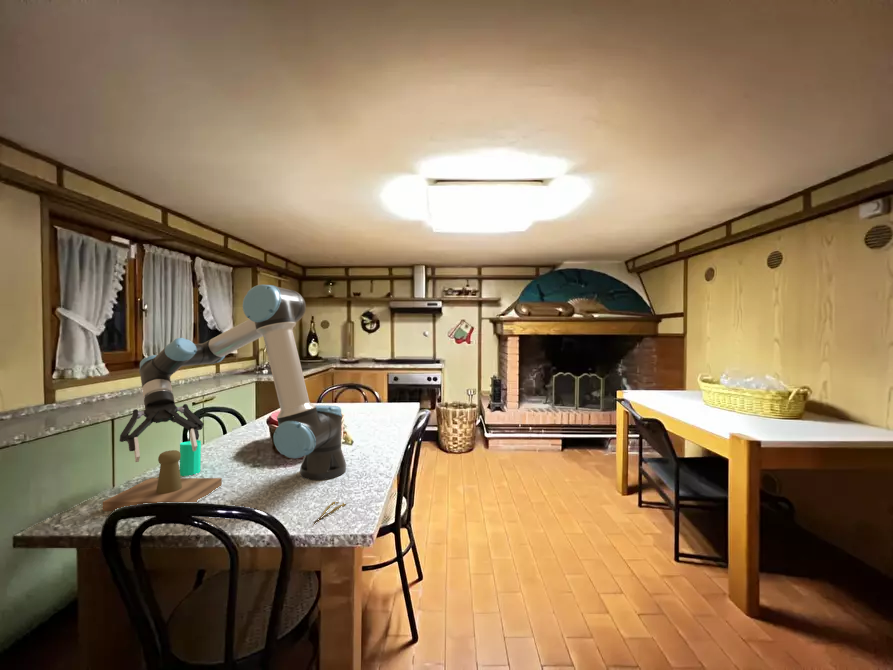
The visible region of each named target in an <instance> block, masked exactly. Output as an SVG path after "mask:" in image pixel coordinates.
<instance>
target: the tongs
mask: <svg viewBox="0 0 893 670" xmlns="http://www.w3.org/2000/svg"><path fill="white" fill-rule="evenodd" d="M335 502H336V503H337V504H339V503H338V502H339V501H332V502H331V503H330V504H329V505H327V506H326V508H324V510H323V511H322V514H321V515H320V516H319V517H318V518H317V519H315V520H314V521H313V523H314V524H315V523H316V522H318V521H319V520H321V519H322V518H323V517H325V516H327V515H328V514H330V513H332V512H333V513H335V512H336V511H335V510H337V509H338V510H340V509H341V508H340V507H341V506H343V507H344V506H346V505H347V503H346V504H344V502H342V503H341V504H339V505H337V506H336V507H334V508H332V509H331V508H330V506H331V505H333V504H334V505H336V504H335ZM334 505H333V506H334ZM329 508H330V509H331V510H330V509H329ZM339 508H340V509H339ZM328 509H329V510H330V511H329V510H328ZM327 510H328V511H329V512H328V511H327ZM338 510H337V511H338ZM326 511H327V512H326ZM334 511H335V512H334ZM333 513H332V514H333ZM324 514H325V515H324ZM323 515H324V516H323ZM330 515H331V514H330ZM322 516H323V517H322ZM328 516H329V515H328ZM328 516H327V517H328ZM321 517H322V518H321ZM325 518H326V517H325ZM318 519H319V520H318ZM323 519H324V518H323ZM323 519H322V520H323ZM322 520H321V521H322ZM319 522H320V521H319ZM319 522H318V523H319ZM316 524H317V523H316ZM316 524H315V525H316Z"/></svg>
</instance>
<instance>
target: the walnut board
mask: <svg viewBox="0 0 893 670" xmlns="http://www.w3.org/2000/svg"><path fill="white" fill-rule="evenodd" d="M158 478H159V477H158ZM158 478H157V477H154V478H153V477H149V478H148V479H145V480H143V481H142V482H139V483H138V484H136V485H134V486H132V487H130V488H127V489H126V490H124V491H122V492H120V493H117V494H115V495H114V496H112V497H109V498H107V499H106V500H103V501H102V512H114V511H113V510H115V509H117V508H121V507H124V506H130V505H137V504H143V503H157V502H197V500H198V499H200V498H202V497H204V496H206V495H208V494H209V493H211V492H212V491H213V490H215V489H216V488H218V487H219V486H221V485H223V484H222V482H223V480H222V479H223V478H221V477H208V478H207V477H202V478H201V477H196V478H195V477H182V478H181V483H182V488H181V489H179V490H177V491H175V492H171V493H166V494H158V493H156V490H157V484H158ZM221 487H222V486H221ZM218 489H219V488H218ZM215 491H216V490H215ZM211 494H212V493H211ZM208 496H209V495H208Z"/></svg>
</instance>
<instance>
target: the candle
mask: <svg viewBox="0 0 893 670" xmlns="http://www.w3.org/2000/svg"><path fill="white" fill-rule="evenodd" d="M196 442H197V449H196V451H193V449H192V444H191V439H190V438H189V440H188V441H184V442H183V441H182V442H179V452H180V454H181V457H180V460H179V470H180V476H181V477H190V476H189V475H191V476H194V475H193V474H195V475H197V474H196V473H198V474H199V473H201V472H200V471H201V467H202V464H201V463H202V461H201V460H202V459H201V458H202V441H201V440H200V439H198V440H196Z"/></svg>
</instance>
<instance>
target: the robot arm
mask: <svg viewBox="0 0 893 670" xmlns="http://www.w3.org/2000/svg"><path fill="white" fill-rule="evenodd" d="M306 306H307V305H306V301H305V298H304V297H303V296H302V295H301V294H300V293H299V292H297V291H296V290H293V289H290V288H284V287H280V286H276V285H273V284H257V285H255V286H253V287H251V288H250V289H249V290H248V291H247V292H246V294H245V296H244V297H243V300H242V310H243V314H244V315H245V317H246V318H247V320H245V321H243V322H241V323H239V324H236V325H235V326H233V327H232V328H230V329H228V330H226V331H224V332H222V333H220V334H218V335H217V336H215V337H212V338H211V339H209V340H207V341H205V342H202V343H194V341H191V340H190V339H187V338H185V337H178V338H174V339H173V340H172V341H171V342H169V343H168V344H167V345H165V347H164V348H163V349H162V350H161V351H160V352H159V353H158V354H154V355H152V354H151V355H149V356H147V357H144V358H143V359H142V360H140V362H139V375H140V380H141V381H140V383H141V387H142V396H143V404H144V410H138V409H135V408H134V409H133V410H132V414H131V417H130V419H129V421H128V423H126V425H125V426H124V428H123V430H122V431H121V433H120V436H119V442H120V443H124V442H126V443H127V444H128V450H129V452H133V454H134V462H135V463H139V462H140V458H141V454H140V445H139V436H140V435H141V434H142V433H143V432H144V431H145V430H146V429H147V428H148V427H149V426H151V425H152V424H153V423H155V424H159V423H167V422H169V421H170V422H172V423H176V424H178V425H179V426H181V427H183V428H185V429H186V430H188V431H189V440H190V439H191V444H192V449H193V451H196V449H197V442H196V440H199V437H200V434H199V433H200V432H199V431H200V430H202V429H203V427H204V425H205V423H204V422H203V421H202V420H201V419H200V418H199V417H198V416H197V415H196V414H195V413H194V412H193V411H191V409H190V408H189V406H188V404H186V403H184V404H183V405H182V406H177V405H176V402H175V398H174V392H173V387H172V381H171V376H173V374H175V373H176V372H177V371H179V370H180V368H182V367H188V366H198V365H214V364H216V363H217V364H218V363H221V362H222V361H223V360H224V359H225V357H226V356H227V355H229V354H231V353H233V352H235V351H237V350H239V349H240V348H243V347H245V346H247V345H249V344H251V343H253V342H255V341H257V340H258V339H261V338H262V337H263V341H264V344H265V345H264V346H265V348H266V353H267V357H268V362H269V367H270V371H271V374H272V379H273V384H274V388H275V392H276V396H277V400H278V405H279V408H280V412H278V415H277V416H276V420H277V424H278V426H276V429H275V431H274V433H273V444H274V446H275V448H276V450H277V452H279V453H280V455H284V457H286V458H289V459H299V458H302V457H303V458H302V462H301V464H300V469H299V472H300V474H299V475H300V477H302V478H303V479H306V480H313V481H319V480H320V481H322V480H328V479H329V480H330V479H333V478H336V477H339V476H342V475H343V474H344V473H345V472H346V470H347V462H346V459H345V456H344V453H343V450H342V421H343V420H342V417H343V415H342V408H341V407H340V406H337V405H329V404H328V405H325V404H324V405H323V404H322V405H320V404H319V405H314V404H313V403H311V402H310V399H309V394H308V390H307V387H306V386H307V385H306V381H305V377H304V373H303V368H302V364H301V360H300V356H299V352H298V349H297V348H298V347H297V344H296V339H295V335H294V331H293V330H294V328H295V327H296V325H297V323H298V322H299V321H300V320H301V319H302V318H303V317H304V315H305V313H306V310H307V309H306ZM178 412H179V413H181V414H182V415H183V416H184V417H183V416H181V415H180V414H179V413H178ZM141 417H144V418H145V419H144V420H143V421H142V422H141V423H140V424H139V425H138V426H137V427H136V428H135V429H134V430H133V428H134V426H135V424H136V423H137V422H138V419H141ZM132 430H133V431H132ZM131 431H132V432H131Z"/></svg>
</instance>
